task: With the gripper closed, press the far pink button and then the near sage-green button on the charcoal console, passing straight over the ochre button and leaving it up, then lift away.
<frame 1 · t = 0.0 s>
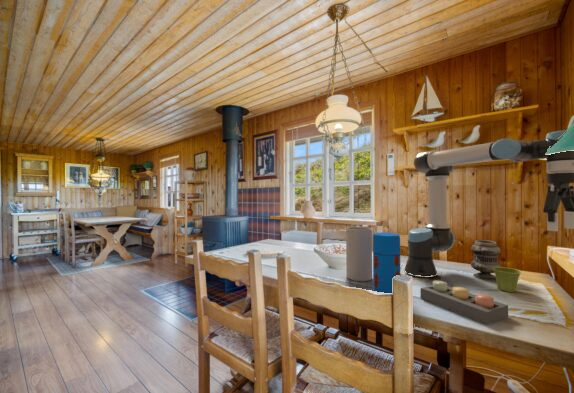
hand: (561, 229, 96), 28 cm above the table, tool pointing down, fingers open, 13 cm apart
thermos: (386, 293, 110), on the table
plant pot: (506, 290, 112), on the table
pink button: (484, 302, 88), point 5 cm above the table, slide at 0.0 cm
apothecary jar: (485, 277, 129), on the table
ochre button: (460, 294, 95), point 5 cm above the table, slide at 0.0 cm
console: (460, 306, 95), on the table
cylinder vase: (359, 278, 130), on the table
sage button: (439, 287, 103), point 5 cm above the table, slide at 0.0 cm
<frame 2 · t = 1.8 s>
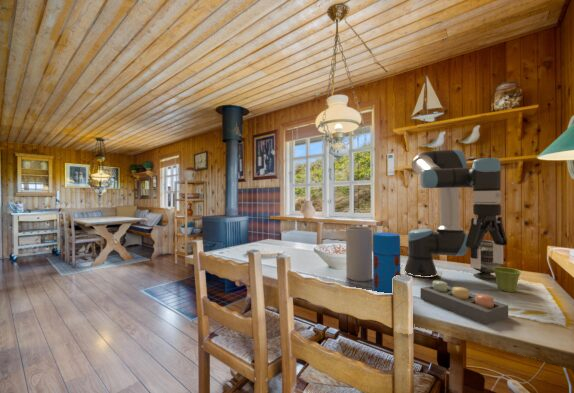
hand: (487, 265, 88), 17 cm above the table, tool pointing down, fingers open, 13 cm apart
nothing on the table moved.
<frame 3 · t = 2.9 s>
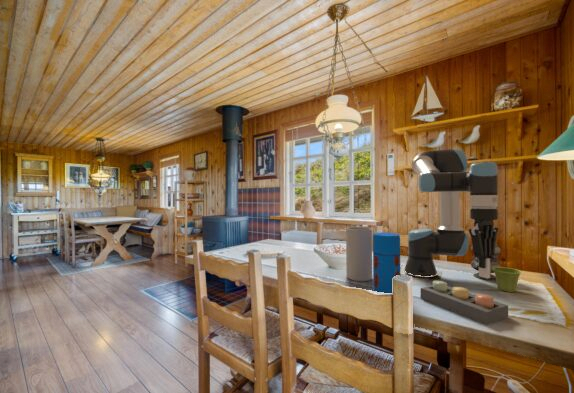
hand: (484, 277, 88), 13 cm above the table, tool pointing down, fingers closed
nothing on the table moved.
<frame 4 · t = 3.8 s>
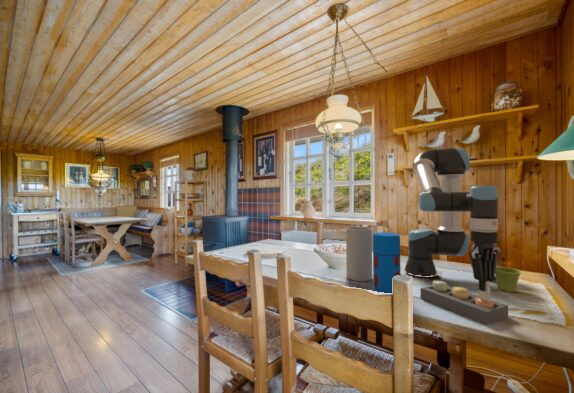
hand: (484, 299, 88), 6 cm above the table, tool pointing down, fingers closed
pink button: (484, 306, 88), point 3 cm above the table, slide at 1.2 cm, touching gripper
everything else where it was.
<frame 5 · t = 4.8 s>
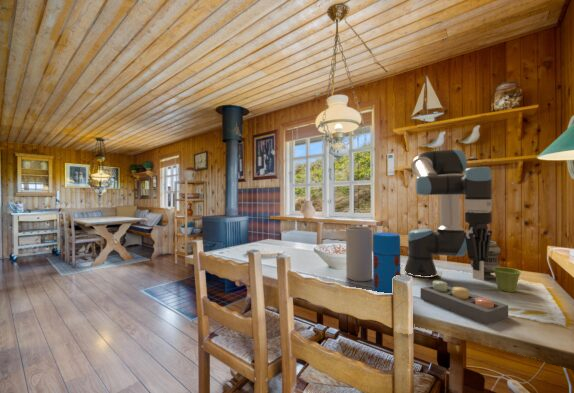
hand: (478, 279, 90), 12 cm above the table, tool pointing down, fingers closed
pink button: (484, 306, 88), point 3 cm above the table, slide at 1.3 cm
everything else where it was.
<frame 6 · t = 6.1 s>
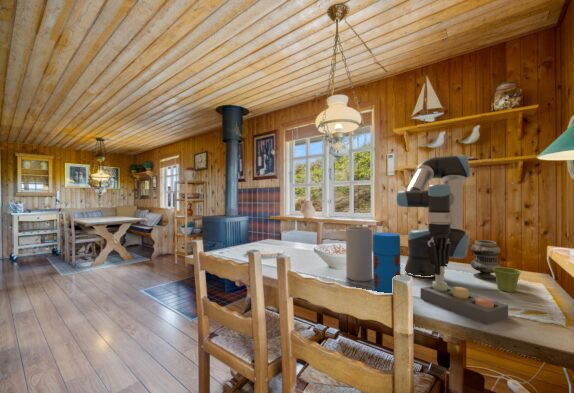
hand: (439, 282, 102), 7 cm above the table, tool pointing down, fingers closed
sage button: (439, 287, 103), point 4 cm above the table, slide at 0.1 cm, touching gripper
everything else where it was.
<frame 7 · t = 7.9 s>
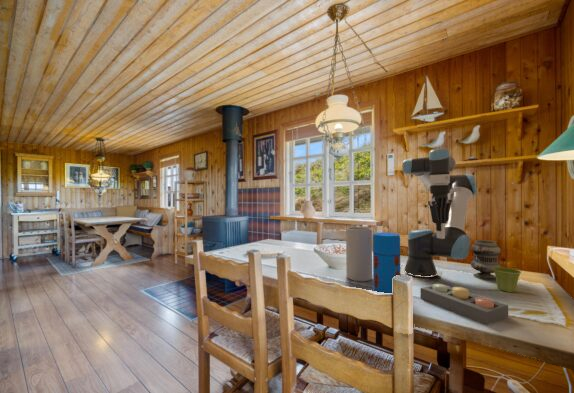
hand: (440, 238, 114), 22 cm above the table, tool pointing down, fingers closed
sage button: (439, 290, 103), point 3 cm above the table, slide at 1.3 cm
everything else where it was.
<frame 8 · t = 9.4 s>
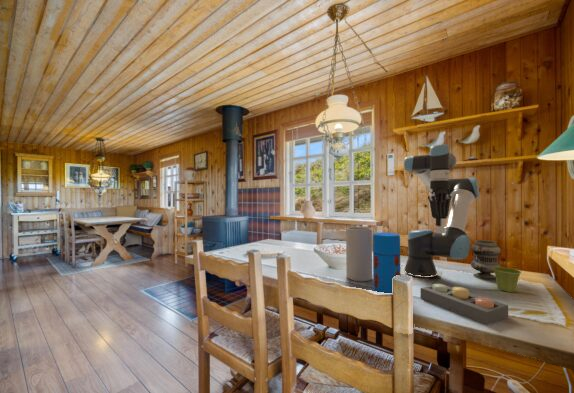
hand: (440, 233, 115), 24 cm above the table, tool pointing down, fingers closed
nothing on the table moved.
at the end: pink button slide at 1.3 cm; sage button slide at 1.3 cm; ochre button slide at 0.0 cm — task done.
